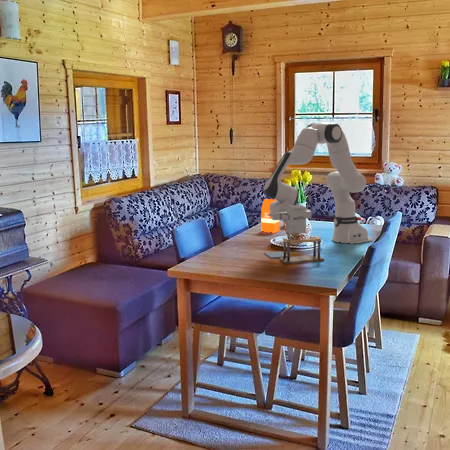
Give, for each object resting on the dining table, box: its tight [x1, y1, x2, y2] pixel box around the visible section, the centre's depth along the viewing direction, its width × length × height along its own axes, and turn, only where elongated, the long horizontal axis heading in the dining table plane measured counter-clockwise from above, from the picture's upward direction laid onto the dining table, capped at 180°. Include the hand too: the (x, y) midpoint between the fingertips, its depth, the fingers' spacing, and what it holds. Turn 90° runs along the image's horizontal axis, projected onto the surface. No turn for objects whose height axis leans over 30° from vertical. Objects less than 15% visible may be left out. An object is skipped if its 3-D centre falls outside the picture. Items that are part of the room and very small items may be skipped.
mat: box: [263, 250, 287, 259], centre depth 284 cm, size 10×10×1 cm
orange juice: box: [260, 198, 280, 234], centre depth 342 cm, size 8×9×20 cm
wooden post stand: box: [282, 235, 322, 261], centre depth 272 cm, size 17×6×10 cm, turn 105°
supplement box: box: [285, 204, 307, 235], centre depth 265 cm, size 7×7×13 cm
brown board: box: [279, 254, 325, 265], centre depth 273 cm, size 20×8×1 cm, turn 105°
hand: (296, 217), depth 264 cm, fingers closed on supplement box, 7 cm apart
